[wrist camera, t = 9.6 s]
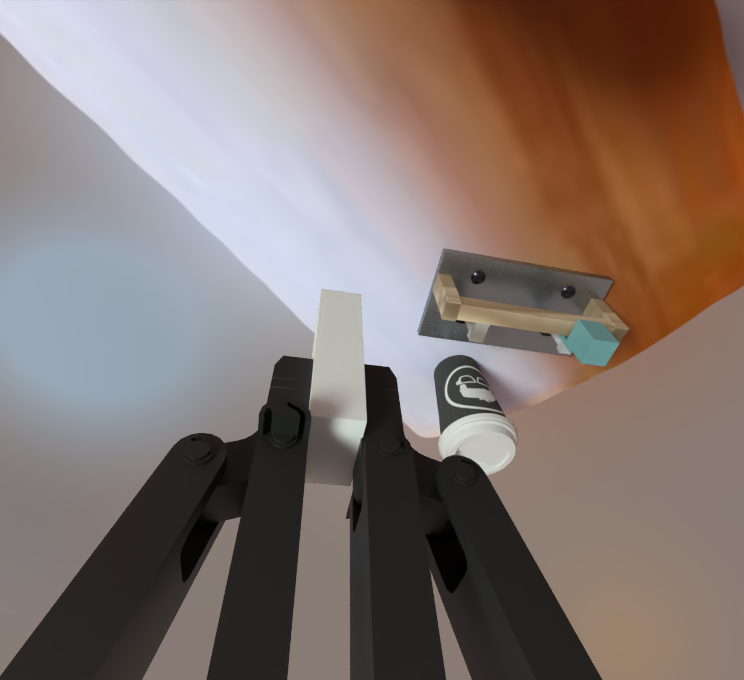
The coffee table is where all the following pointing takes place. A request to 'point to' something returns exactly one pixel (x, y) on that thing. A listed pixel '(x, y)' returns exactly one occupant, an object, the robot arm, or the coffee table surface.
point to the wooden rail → (516, 314)
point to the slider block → (588, 342)
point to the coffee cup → (472, 416)
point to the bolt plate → (511, 296)
